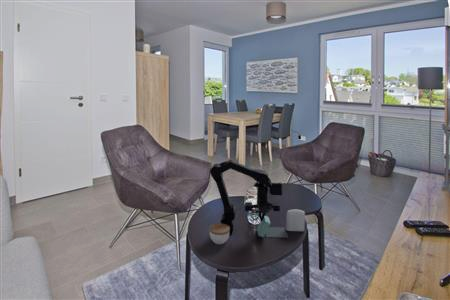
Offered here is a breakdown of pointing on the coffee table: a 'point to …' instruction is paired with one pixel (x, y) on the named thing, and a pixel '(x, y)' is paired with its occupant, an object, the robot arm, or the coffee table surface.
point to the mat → (276, 232)
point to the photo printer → (295, 220)
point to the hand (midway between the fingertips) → (261, 221)
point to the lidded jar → (219, 233)
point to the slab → (263, 226)
